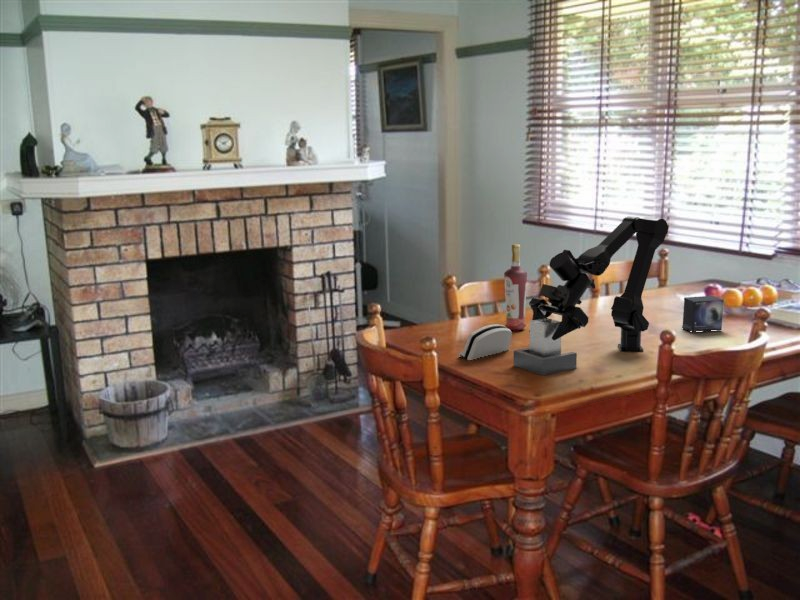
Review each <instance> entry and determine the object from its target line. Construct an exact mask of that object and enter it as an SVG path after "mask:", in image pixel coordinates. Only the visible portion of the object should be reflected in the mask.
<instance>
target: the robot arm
mask: <svg viewBox="0 0 800 600" xmlns="http://www.w3.org/2000/svg"><path fill="white" fill-rule="evenodd" d="M668 232H669V225H668V223H667V220H665V219H664V218H661V217H660V218H658V217H651V216H650V217H648V216H645V217H642V218H640V217H638V216H629V215H628V216H625V217H624V218H622V220H621V222H620V224H619V225H617V226H616V227H615V228H614V229H613V230H612V231H611V232H610V233H609V234H608V235H607V236H606V237H605V238H604V239H603V240H602V241H601V242H600V243H599V244H598V245H596V246H594V247H591V248H589V249H587V250H585V251H584V252H583V253H581V254H579V256H578V257H575V256H574V254H573V252H571V250H569V249H563V251H562V252H559V253H557V254H556V255H554V256H553V257H552V258H550V261H549V264H548V265H549V267H550V269H551V270H552V271H553V272H554V273H555V274H556V276H558V277H559V279H560V280H561V281H563V282H565V283H564V285H563V284H558V285H557V286H553V285H550V284H545V283H542V285H541V287H540V291H539V294H538V296H540V297H545V298H547V301H546V300H545V299H544V298H539V297H532V298H531V300H530V301H529V302H528V305H529V306H530V309H531V310H532V313H533V314H532V319H531V321H532V320H538V319H544V318H549V317H551V315H552V314H554V315H558V316H561V321H560V322H561V323H560V324H559V326H558V328H557V329H556V331H555V332H554V334H553V336H552V339H553V340H554V341H555V340H557V339H558V338H560V337H561V338H562V337H564V336H565V335H568V334H569V333H571V332H573V331H576V330H578V329H579V330H580V329H581V328H586V326H588V324H589V316H588V315H587V314H586V312H585V311H584V310H583V309H582V308H581V307H580V305H581V304H582V302H583V301H582V300H581V298H582V297H583V296H584V294H585V292H586V291H587V289H592V290H595V289H596V284H595V279H594V278H590V277H589V275H591V276H595V277H599V276H601V275H602V274H604V273H605V271H606V270H607V269H608V267H609V266H610V265H611V258H612V257H613V256H614V255H615V254H616V253H617V252H618V251H619V250H620V249H621V248H622V247H623V246H624V245H625V244H627V242H628V241H629V240H630V239H631V238H632V237H633V236H634V235H635V239H636V242H637V249H636V252H635V256H634V259H633V262H632V265H631V269H630V272H629V274H628V278H627V282H626V285H625V289H624V291H623V293H622V294H621V295H620V296H617V295H616V296H615V297H614V299H613V303H612V306H611V308H610V309H611V317H612V321H613V324H614V327H616V328H620V343H618V344H617V347H618V348H619V350H620V351H621V352H644V348H643V347H642V345H641V343H642V332H645V331H647V330H648V329H649V327H650V322H649V321H648V319H647V318H646V317H645V316H644V313H643V312H644V303H643V299H642V295H643V292H644V288H645V285H646V283H647V278H648V276H649V272H650V269H651V266H652V262H653V260H654V256H655V252H656V250H657V249H658V248H659V247H660V246H661V245H662V244H663V243H664V242H665V239H666V236H667V234H668ZM549 303H550V304H549ZM577 305H579V306H577ZM528 332H529V333H530V328H529V331H528Z"/></svg>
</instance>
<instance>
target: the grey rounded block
mask: <svg viewBox="0 0 800 600" xmlns="http://www.w3.org/2000/svg"><path fill="white" fill-rule="evenodd" d="M512 336H513V331H511V330H510V329H507V327H506V326H505V325H502V324H497V323H496V324H495V323H494V324H488V325H485V326H482V327H480V328H477V329H475V330H474V331H472V332H471V333H469V334H468V337H467V340H466V343H465V346H464V348H463V350H462V351H460V352H459V354H458V358H459V357H461V358H465V357H466V358H467V359H466V360H468V361H469V360H472V361H474V360H473V359H475V360H478V359H477V358H479V359H481V358H480V357H482V358H485V357H484V356H486V357H489V356H488V355H490V356H492V354H493V355H496V353H497V354H500V353H504V352H507V350H508V351H509V350H510V346H511V340H512ZM503 351H504V352H503ZM462 356H463V357H462Z"/></svg>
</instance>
